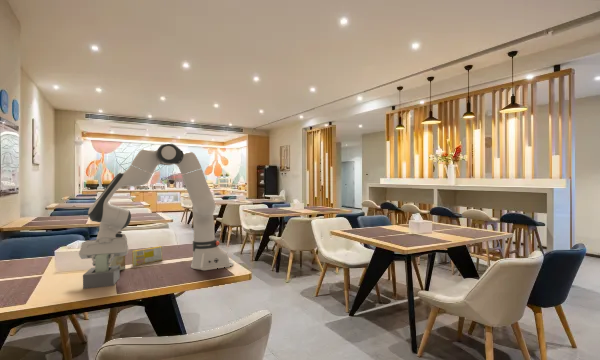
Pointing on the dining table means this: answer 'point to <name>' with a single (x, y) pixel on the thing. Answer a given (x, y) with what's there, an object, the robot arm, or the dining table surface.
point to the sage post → (101, 263)
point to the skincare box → (118, 262)
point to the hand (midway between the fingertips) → (101, 264)
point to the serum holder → (101, 277)
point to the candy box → (146, 255)
